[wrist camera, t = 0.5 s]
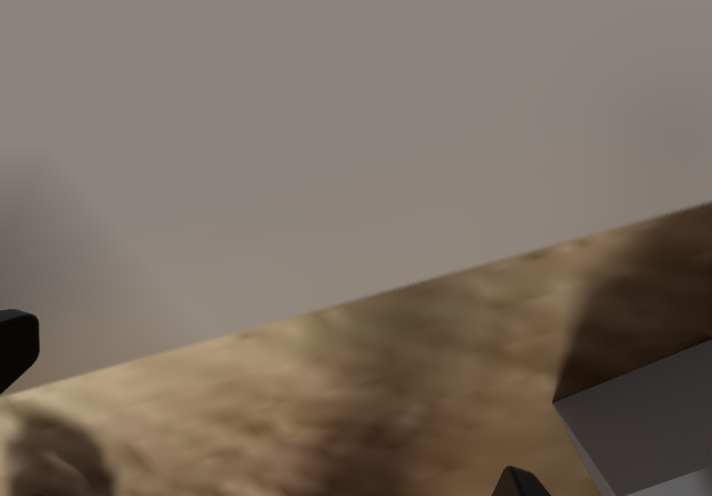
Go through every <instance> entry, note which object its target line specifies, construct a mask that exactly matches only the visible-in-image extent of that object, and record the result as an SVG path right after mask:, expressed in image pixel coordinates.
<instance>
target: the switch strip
mask: <svg viewBox="0 0 712 496" xmlns="http://www.w3.org/2000/svg"><path fill="white" fill-rule="evenodd" d="M553 405H554V407H555V409H556V411H557V413H558V415H559V417H560V419H561V421H562V423H563V424H564V426H565V428H566V430H567V432H568V434H569V436H570V438H571V440H572V442H573V444H574V445H575V447H576V449H577V451H578V453H579V455H580V457H581V459H582V461H583V463H584V465H585V467H586V468H587V470H588V472H589V474H590V476H591V478H592V480H593V482H594V484H595V486H596V488H597V489H598V491H599V493H600V495H601V496H712V339H711V340H708V341H706V342H703V343H701V344H698V345H696V346H693V347H691V348H688V349H686V350H683V351H681V352H678V353H676V354H673V355H671V356H668V357H666V358H663V359H661V360H658V361H656V362H653V363H651V364H648V365H646V366H643V367H641V368H638V369H636V370H633V371H631V372H628V373H626V374H623V375H621V376H618V377H616V378H613V379H611V380H608V381H606V382H603V383H601V384H598V385H596V386H593V387H591V388H588V389H586V390H583V391H581V392H578V393H576V394H573V395H571V396H568V397H566V398H563V399H561V400H558V401H556V402H553Z"/></svg>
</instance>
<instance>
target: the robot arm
mask: <svg viewBox="0 0 712 496" xmlns="http://www.w3.org/2000/svg"><path fill="white" fill-rule="evenodd" d="M39 353H40V339H39V320H38V318H37V317H36V316H35V315H33V314H31V313H28V312H24V311H21V310H17V309H8V310H1V311H0V395H1V394H2V393H3V392H4V391H5V390H6V389H7V388H8V387H9V386H10V385H11V384H12V383H13V382H15V381H16V380H17V379H18V378H19V377H20V376H21V375H22V374H23V373H24V372H25V371H26V370H27V369H29V368H30V367H31V366H32V365H33V364H34V362H35V361H36V360H37V358H38V356H39ZM492 496H551V495H550V494H549V493H548V491H547V490H546V489H545V488H544V486H543V485H542V484H541V483H540V481H539V480H538V479H537V478H536V477H535V475H534V474H532V473H531V472H529V471H526V470H523V469H520V468H517V467H513V466H507V467H506V468H505V469H504V470H503V472H502V474H501V477H500V479H499V481H498V483H497V485H496V487H495V490H494V492H493V494H492Z"/></svg>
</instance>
